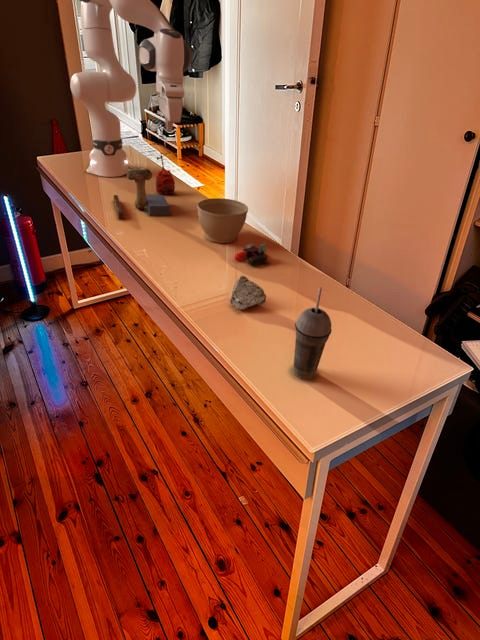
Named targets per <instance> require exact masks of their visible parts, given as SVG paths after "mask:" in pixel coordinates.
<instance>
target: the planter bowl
mask: <svg viewBox="0 0 480 640" xmlns="http://www.w3.org/2000/svg"><path fill="white" fill-rule="evenodd" d="M196 207H197V217H198V221H199V225H200V227H201V229H202V230H203V233H204V234H205V238H206V239H207V240H209V241H211V242H213V243H217V244H227V243H231V242H234V241H235V240H236V237H237V236H238V234H240V233H241V231H242V229H243V227H244V226H245V223H246V221H247V215H248V211H249V206H248V205H246V203H243V202H242V201H239V200H236V199H231V198H220V197H218V198H217V197H214V198H213V197H211V198H204V199H202V200H200V201H199V202H198V203H197V205H196Z"/></svg>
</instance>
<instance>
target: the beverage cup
mask: <svg viewBox="0 0 480 640" xmlns="http://www.w3.org/2000/svg"><path fill="white" fill-rule="evenodd" d="M322 292H323V287H322V286H319V287H318V293H317V298H316V303H315V304H316V305H315V307H309V308H306V309H305V310H303V311H302V312H300V314H299V315H298V317H297V319H296V321H295V324H294V328H295V329H294V330H295V345H294V356H293V374H294V376H295V377H296V378H297V379H300V380H303V381H304V380H305V381H306V380H307V381H309V380H312V379H314V377H315V375H316V373H317V371H318V368H319V365H320V363H321V362H320V361H321V359H322V355H323V353H324V349H325V346H326V343H327V342H328V341H329V338H330V335H331V334H332V321H331V318H330V315H329V314H328V313H327V312H326V311H325V310H323V309H321V308H319V306H320V301H321V296H322Z"/></svg>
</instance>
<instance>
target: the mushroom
mask: <svg viewBox="0 0 480 640" xmlns="http://www.w3.org/2000/svg"><path fill="white" fill-rule="evenodd" d="M130 169H131V170H130V171H129V172H128V173H127V174H126V178H127V179H128V180H129V181H134V183H135V192H136V193H135V200H134V207H135V209H137V210H139V211H142V210H144V209H145V208H146V205H147V198H146V195H147V193H146V181H150V180H151V179H152V177H153V173H152V171H151V170H150V169H149V168H146V167H133V168H130Z"/></svg>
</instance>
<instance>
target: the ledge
mask: <svg viewBox="0 0 480 640" xmlns="http://www.w3.org/2000/svg"><path fill="white" fill-rule="evenodd" d="M118 195H119V194H113V196H112V197H113V203H114V207H115V211H116V214H117V218H118V220H119V221H121V220H124V211H123V208H122V205H121V201H120V198H119V196H118Z"/></svg>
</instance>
